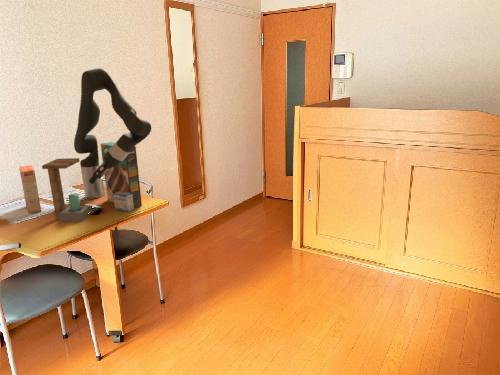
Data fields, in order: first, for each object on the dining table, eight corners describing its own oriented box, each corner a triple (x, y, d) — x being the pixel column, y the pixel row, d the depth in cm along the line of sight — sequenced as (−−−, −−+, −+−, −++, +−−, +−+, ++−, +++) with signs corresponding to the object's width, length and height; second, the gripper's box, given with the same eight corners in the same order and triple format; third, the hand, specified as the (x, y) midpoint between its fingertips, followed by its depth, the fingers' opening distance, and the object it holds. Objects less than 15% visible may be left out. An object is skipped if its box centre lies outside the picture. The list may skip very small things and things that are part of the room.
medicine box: (114, 210, 190) (112, 193, 187) (120, 207, 194) (118, 190, 191) (128, 212, 187) (126, 194, 185) (134, 209, 191) (132, 192, 189)
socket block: (70, 213, 186) (69, 206, 185) (91, 213, 186) (90, 205, 185) (60, 221, 177) (59, 213, 176) (82, 221, 177) (81, 212, 176)
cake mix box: (107, 200, 206) (100, 143, 197) (118, 197, 210) (111, 141, 202) (131, 208, 192) (124, 148, 184) (141, 205, 197) (135, 146, 188)
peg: (77, 215, 184) (74, 193, 181) (83, 216, 182) (80, 194, 179) (69, 218, 181) (66, 195, 178) (75, 219, 179) (72, 196, 176)
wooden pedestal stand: (66, 212, 188) (57, 158, 181) (86, 212, 188) (79, 158, 181) (52, 223, 175) (41, 165, 167) (74, 222, 175) (65, 165, 167)
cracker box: (42, 211, 190) (34, 169, 185) (28, 214, 187) (20, 171, 181) (39, 204, 202) (32, 164, 196) (26, 206, 199) (18, 166, 193)
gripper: (115, 145, 179) (93, 170, 182) (103, 151, 165) (80, 178, 169) (128, 156, 180) (106, 181, 184) (117, 163, 167) (94, 190, 170)
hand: (94, 180), depth 176 cm, fingers open, 8 cm apart
